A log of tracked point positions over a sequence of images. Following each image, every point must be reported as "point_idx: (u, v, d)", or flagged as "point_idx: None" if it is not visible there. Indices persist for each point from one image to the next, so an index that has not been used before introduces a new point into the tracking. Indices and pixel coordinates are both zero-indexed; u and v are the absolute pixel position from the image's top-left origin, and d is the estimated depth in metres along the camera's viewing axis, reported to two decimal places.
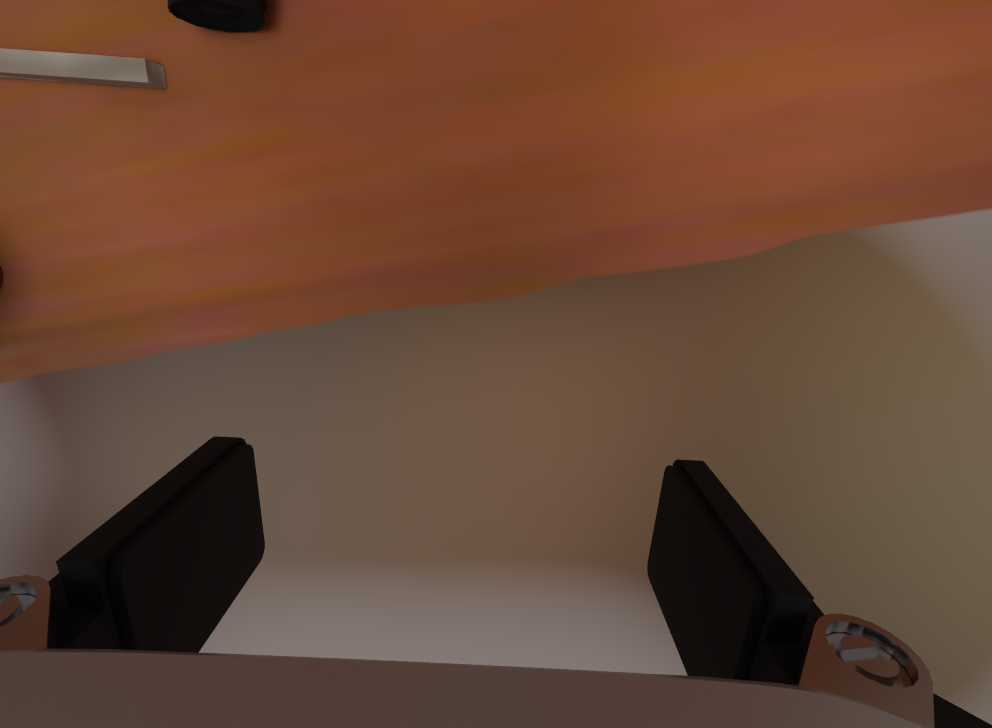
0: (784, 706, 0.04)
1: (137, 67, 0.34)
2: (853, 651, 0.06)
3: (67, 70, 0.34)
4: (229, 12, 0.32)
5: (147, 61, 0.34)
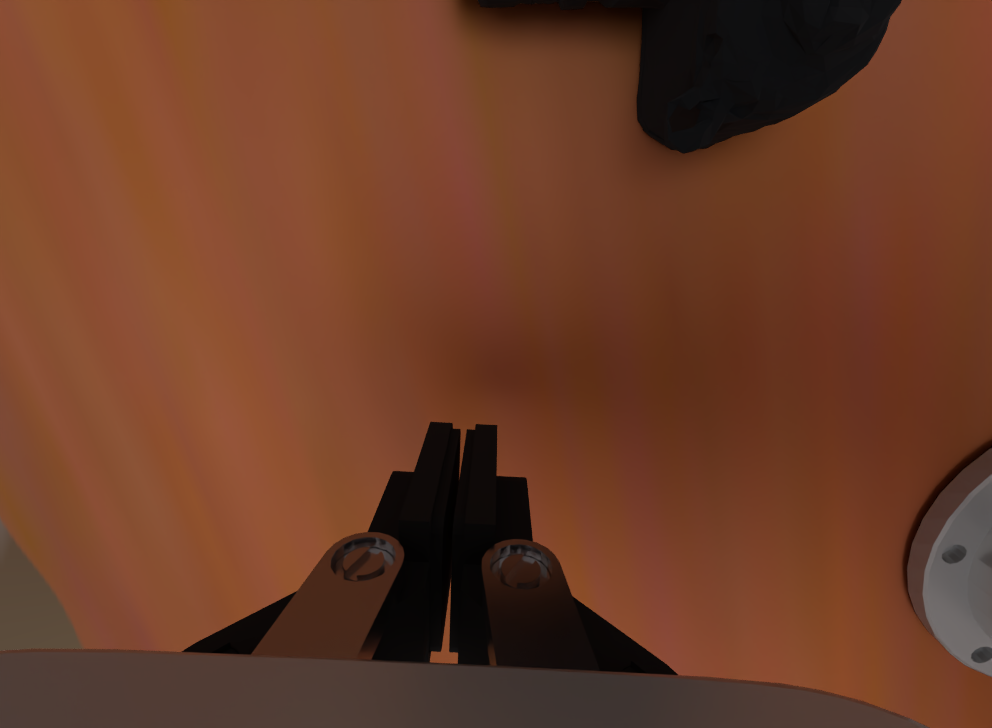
0: (784, 706, 0.04)
1: None
2: (511, 572, 0.07)
3: None
4: None
5: None
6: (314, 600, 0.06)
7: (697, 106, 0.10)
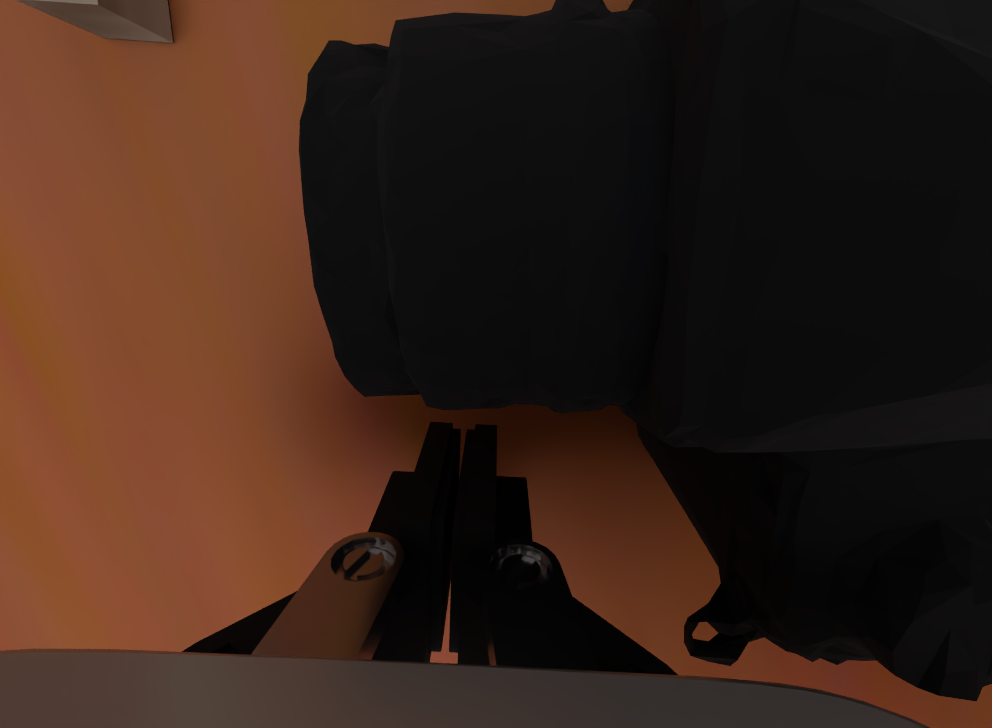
0: (784, 706, 0.04)
1: None
2: (511, 572, 0.07)
3: None
4: None
5: (101, 10, 0.09)
6: (314, 600, 0.06)
7: None
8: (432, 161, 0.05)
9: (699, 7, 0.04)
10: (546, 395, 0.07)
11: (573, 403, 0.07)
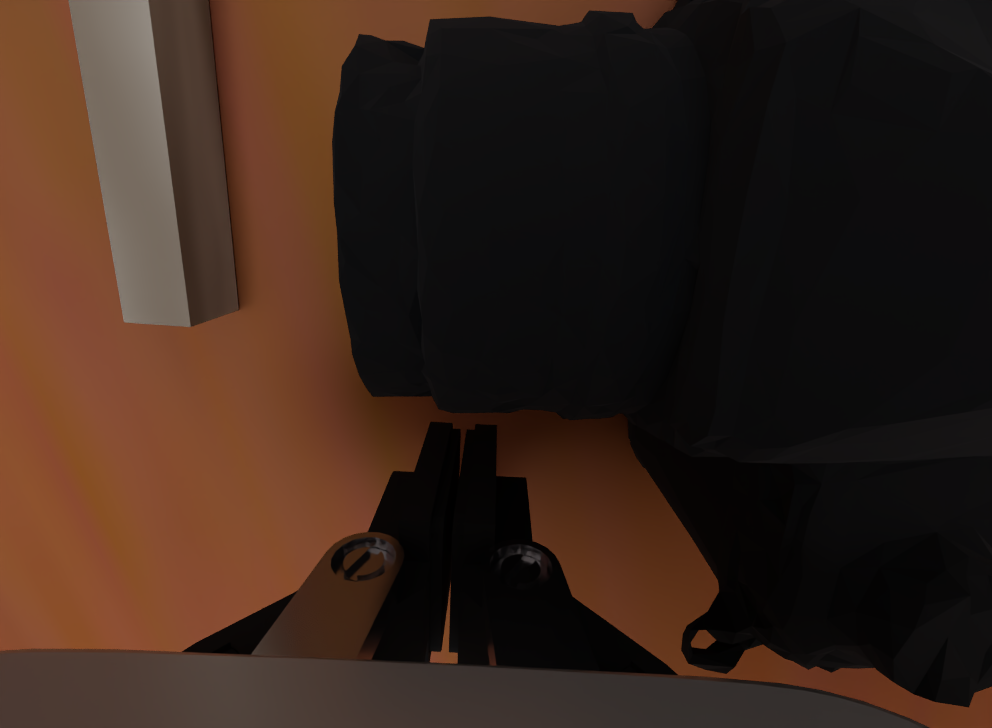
0: (784, 706, 0.04)
1: (160, 298, 0.10)
2: (511, 572, 0.07)
3: (94, 31, 0.09)
4: None
5: None
6: (314, 600, 0.06)
7: None
8: (472, 162, 0.05)
9: (751, 30, 0.04)
10: (560, 401, 0.07)
11: (588, 411, 0.07)
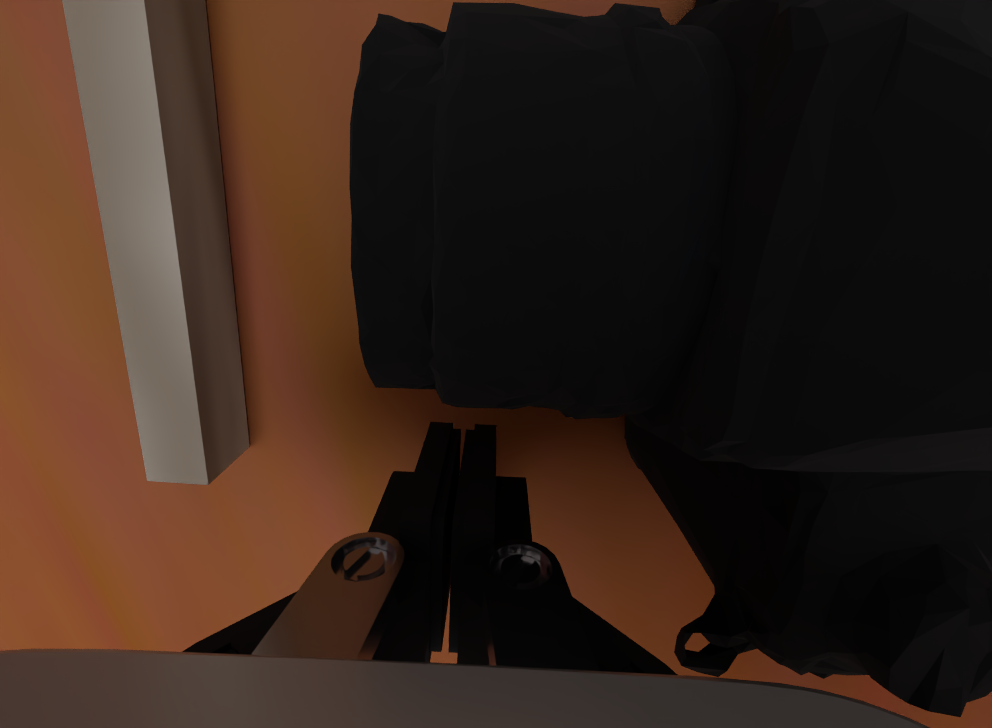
0: (784, 706, 0.04)
1: (180, 461, 0.11)
2: (511, 571, 0.07)
3: (124, 247, 0.10)
4: None
5: None
6: (315, 600, 0.06)
7: None
8: (495, 151, 0.05)
9: (790, 29, 0.04)
10: (567, 399, 0.07)
11: (594, 410, 0.07)
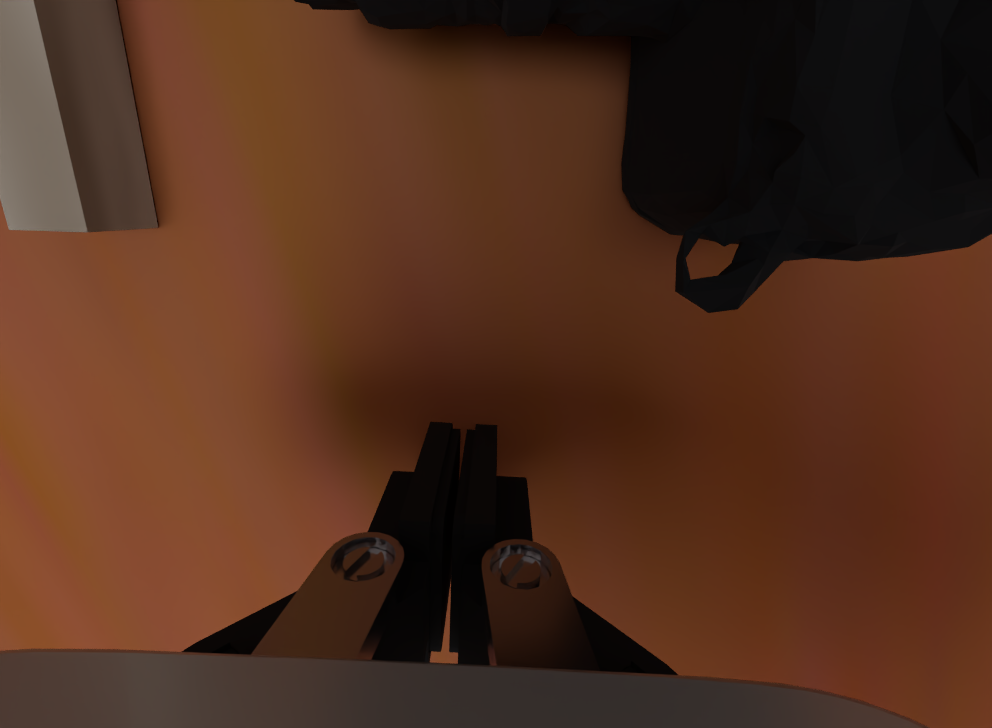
0: (784, 706, 0.04)
1: (48, 197, 0.09)
2: (511, 571, 0.07)
3: None
4: None
5: (91, 231, 0.09)
6: (314, 600, 0.06)
7: None
8: None
9: None
10: None
11: None
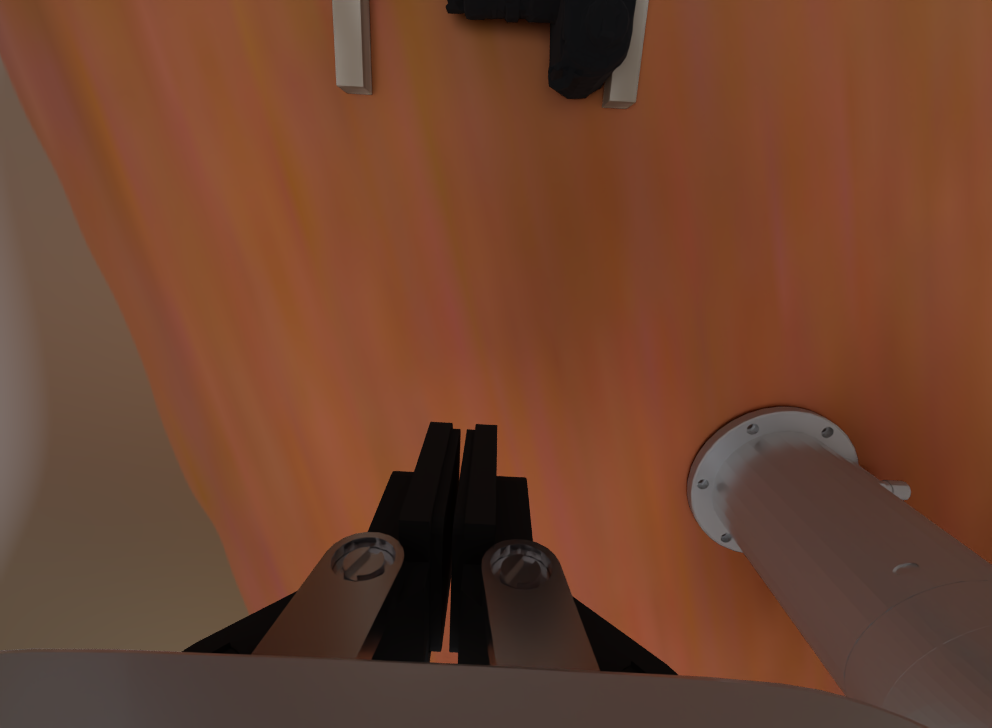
0: (784, 706, 0.04)
1: (352, 73, 0.27)
2: (511, 572, 0.07)
3: None
4: None
5: (362, 87, 0.27)
6: (314, 600, 0.06)
7: (561, 69, 0.23)
8: None
9: None
10: None
11: None
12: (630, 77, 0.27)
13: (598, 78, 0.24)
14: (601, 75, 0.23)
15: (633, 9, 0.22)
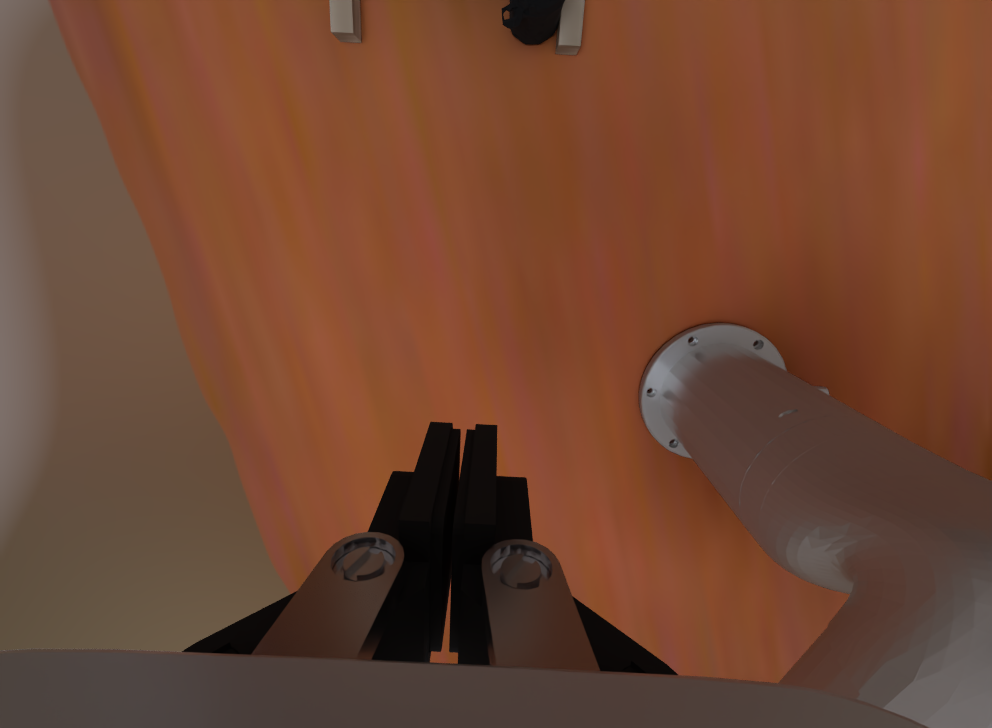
0: (784, 706, 0.04)
1: (343, 22, 0.32)
2: (511, 572, 0.07)
3: None
4: None
5: (352, 34, 0.32)
6: (315, 600, 0.06)
7: (512, 10, 0.29)
8: None
9: None
10: None
11: None
12: (575, 24, 0.32)
13: (543, 18, 0.29)
14: (545, 15, 0.29)
15: None
